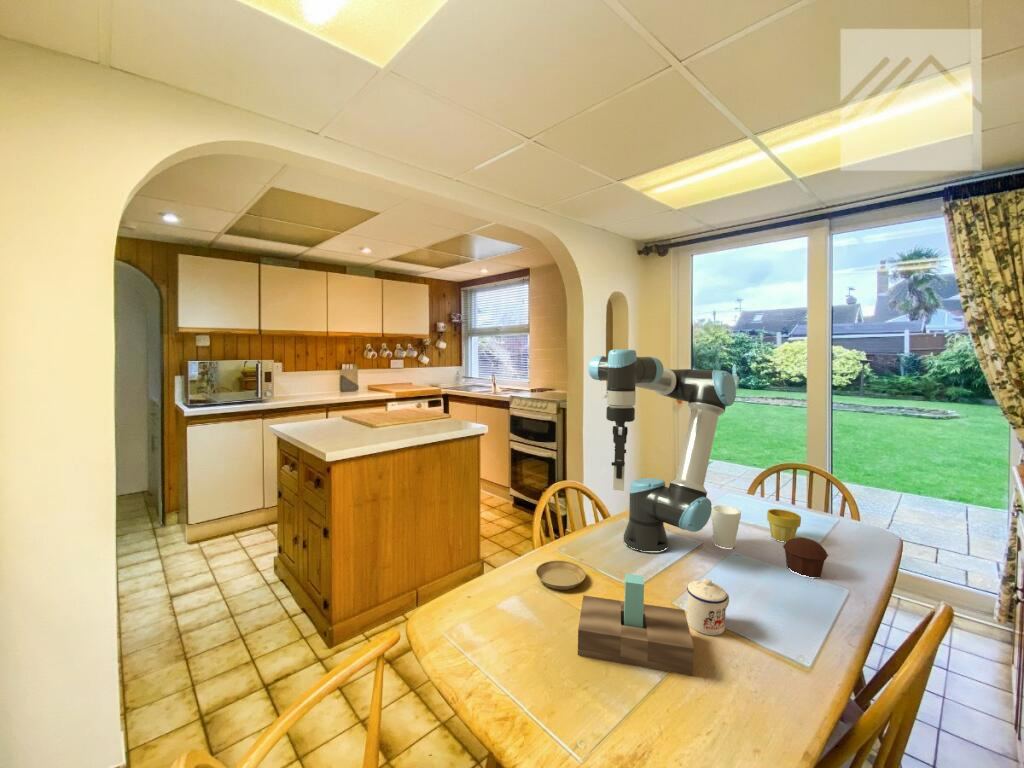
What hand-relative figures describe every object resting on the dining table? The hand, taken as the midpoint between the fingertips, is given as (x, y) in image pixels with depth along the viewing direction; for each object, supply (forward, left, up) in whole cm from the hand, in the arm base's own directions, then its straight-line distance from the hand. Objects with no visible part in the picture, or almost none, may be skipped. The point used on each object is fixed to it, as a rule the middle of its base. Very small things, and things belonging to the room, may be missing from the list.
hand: (618, 482), depth 118 cm
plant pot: (-52, +59, -32) cm, 85 cm away
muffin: (-28, +57, -32) cm, 71 cm away
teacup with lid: (+8, +23, -32) cm, 40 cm away
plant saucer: (-3, -16, -32) cm, 36 cm away
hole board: (+21, +4, -32) cm, 38 cm away
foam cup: (-41, +37, -32) cm, 64 cm away
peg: (+21, +4, -30) cm, 37 cm away
